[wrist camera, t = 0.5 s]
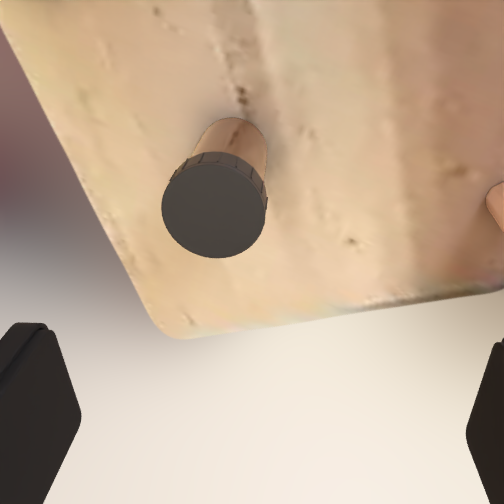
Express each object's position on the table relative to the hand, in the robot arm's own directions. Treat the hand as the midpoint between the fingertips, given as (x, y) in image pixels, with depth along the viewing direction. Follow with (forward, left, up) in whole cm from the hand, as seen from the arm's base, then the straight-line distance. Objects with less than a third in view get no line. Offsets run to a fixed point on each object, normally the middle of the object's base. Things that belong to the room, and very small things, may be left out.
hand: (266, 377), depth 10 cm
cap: (+7, -5, -22) cm, 23 cm away
